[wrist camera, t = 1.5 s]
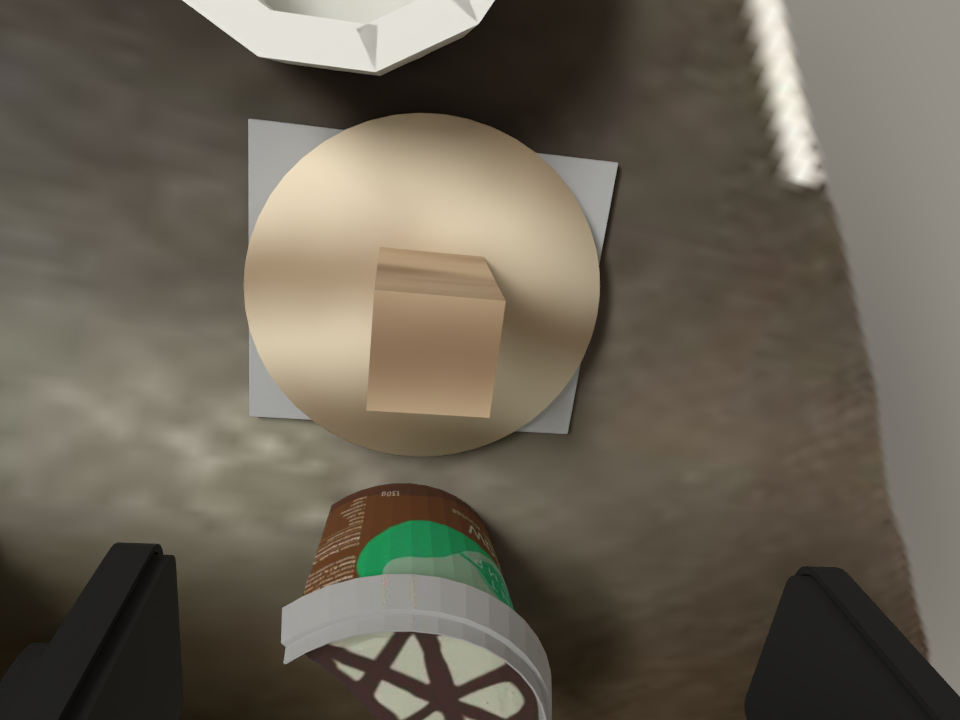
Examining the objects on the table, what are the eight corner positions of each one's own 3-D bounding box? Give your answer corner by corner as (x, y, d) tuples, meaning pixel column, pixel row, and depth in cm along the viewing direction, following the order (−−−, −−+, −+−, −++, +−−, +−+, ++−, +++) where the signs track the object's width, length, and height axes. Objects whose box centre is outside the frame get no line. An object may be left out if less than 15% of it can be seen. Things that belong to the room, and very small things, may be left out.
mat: (565, 429, 31) (567, 434, 31) (251, 411, 29) (249, 416, 29) (615, 162, 27) (618, 162, 26) (250, 118, 25) (248, 118, 24)
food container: (564, 578, 34) (626, 758, 25) (467, 641, 35) (491, 837, 26) (417, 408, 30) (426, 550, 21) (309, 484, 31) (271, 653, 21)
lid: (563, 453, 31) (606, 548, 25) (249, 436, 29) (206, 535, 22) (622, 136, 26) (696, 150, 20) (248, 89, 24) (192, 88, 17)
